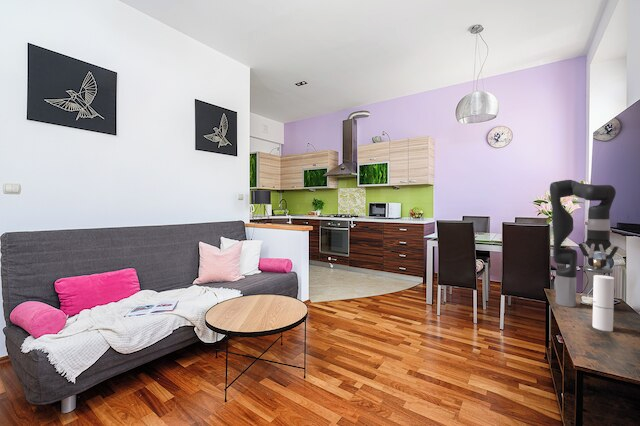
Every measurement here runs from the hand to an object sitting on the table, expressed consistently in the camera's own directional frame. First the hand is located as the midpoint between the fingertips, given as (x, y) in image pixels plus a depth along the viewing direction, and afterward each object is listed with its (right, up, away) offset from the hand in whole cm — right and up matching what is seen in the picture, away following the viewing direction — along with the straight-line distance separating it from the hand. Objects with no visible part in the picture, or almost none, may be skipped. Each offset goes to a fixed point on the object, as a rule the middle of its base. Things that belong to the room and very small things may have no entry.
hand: (597, 266), depth 133 cm
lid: (0, -2, 0) cm, 2 cm away
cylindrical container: (+10, -31, +8) cm, 34 cm away
